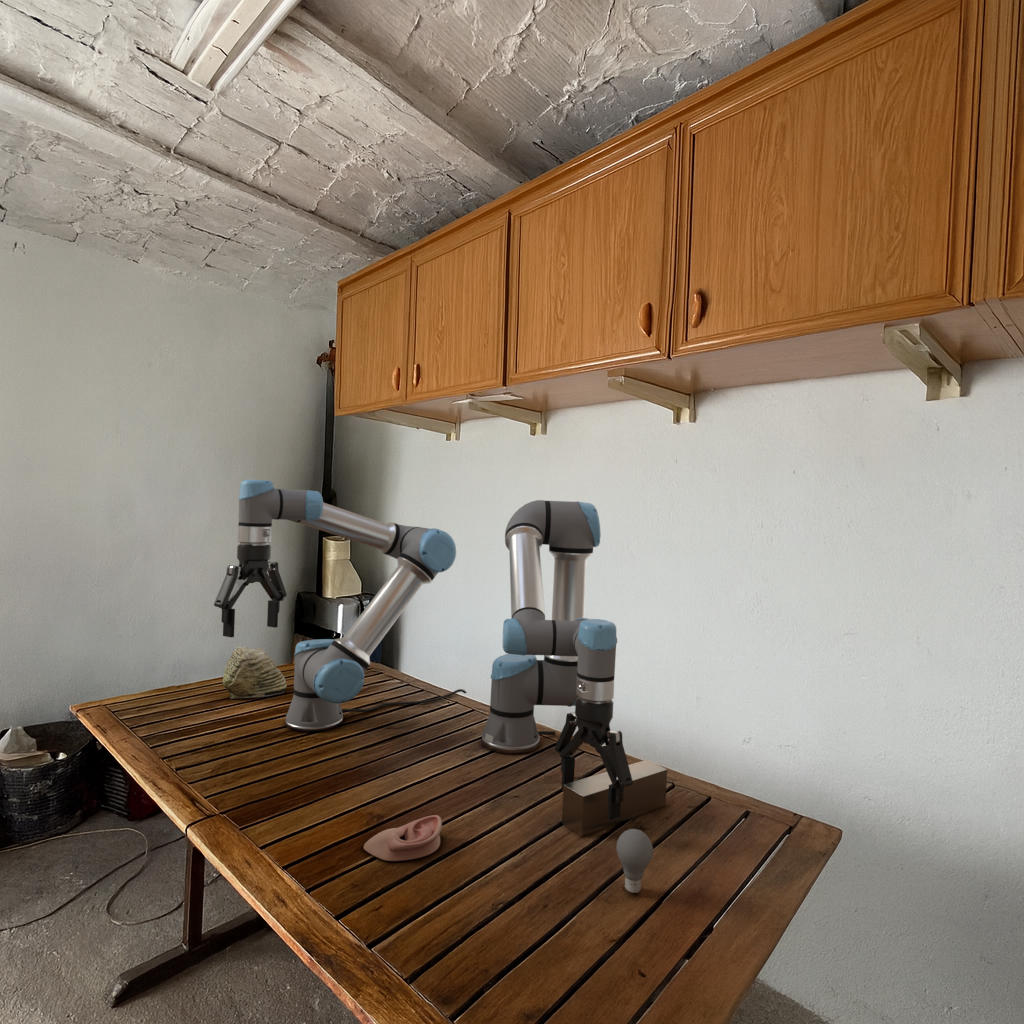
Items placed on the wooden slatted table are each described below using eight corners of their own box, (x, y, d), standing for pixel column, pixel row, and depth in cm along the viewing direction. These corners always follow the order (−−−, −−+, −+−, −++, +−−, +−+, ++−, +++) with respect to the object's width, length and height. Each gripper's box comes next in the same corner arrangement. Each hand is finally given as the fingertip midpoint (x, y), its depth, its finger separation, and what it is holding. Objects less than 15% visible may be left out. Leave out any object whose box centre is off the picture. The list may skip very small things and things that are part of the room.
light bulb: (610, 879, 108) (613, 822, 108) (644, 879, 109) (647, 822, 109) (619, 902, 102) (622, 840, 102) (655, 901, 103) (658, 840, 103)
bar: (645, 794, 141) (646, 759, 141) (665, 805, 137) (667, 769, 136) (561, 823, 127) (563, 784, 127) (581, 836, 122) (583, 796, 122)
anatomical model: (356, 833, 112) (382, 804, 123) (355, 856, 112) (381, 824, 123) (428, 845, 109) (448, 813, 121) (427, 868, 109) (447, 834, 121)
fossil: (218, 695, 195) (220, 647, 195) (278, 685, 208) (279, 640, 207) (228, 703, 189) (230, 653, 188) (289, 692, 201) (290, 645, 201)
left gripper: (223, 547, 140) (220, 643, 140) (303, 542, 163) (299, 624, 163) (199, 545, 143) (195, 638, 143) (280, 540, 166) (277, 621, 166)
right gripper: (541, 684, 135) (536, 782, 135) (626, 720, 115) (621, 836, 115) (568, 679, 139) (563, 775, 140) (654, 714, 119) (649, 825, 119)
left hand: (251, 631), depth 153 cm, fingers open, 13 cm apart
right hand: (589, 803), depth 127 cm, fingers open, 13 cm apart
